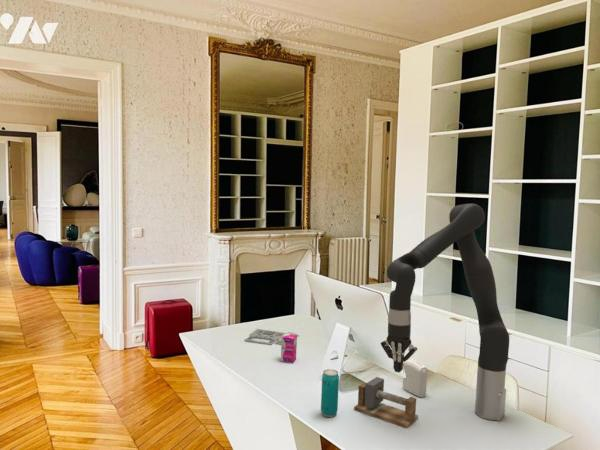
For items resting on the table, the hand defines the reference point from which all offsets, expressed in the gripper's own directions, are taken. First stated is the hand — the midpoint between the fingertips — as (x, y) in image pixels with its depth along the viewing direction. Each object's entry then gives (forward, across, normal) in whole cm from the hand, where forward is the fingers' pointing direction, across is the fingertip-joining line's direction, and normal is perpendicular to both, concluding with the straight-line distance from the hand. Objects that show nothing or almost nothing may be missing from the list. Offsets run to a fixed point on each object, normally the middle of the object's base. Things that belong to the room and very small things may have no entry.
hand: (397, 371), depth 168 cm
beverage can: (+16, +20, +12) cm, 28 cm away
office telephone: (+16, +87, -38) cm, 96 cm away
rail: (+16, +4, 0) cm, 17 cm away
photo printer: (+17, +4, -24) cm, 30 cm away
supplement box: (+16, +61, -19) cm, 66 cm away
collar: (+14, +9, 0) cm, 16 cm away
